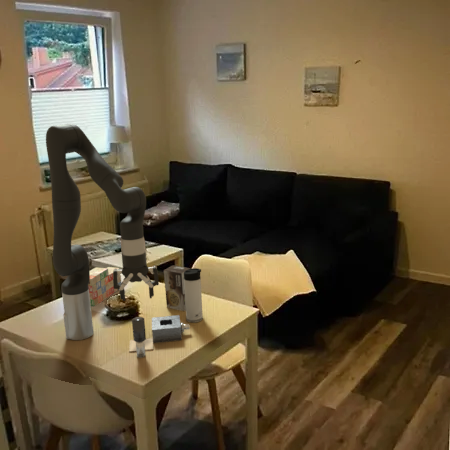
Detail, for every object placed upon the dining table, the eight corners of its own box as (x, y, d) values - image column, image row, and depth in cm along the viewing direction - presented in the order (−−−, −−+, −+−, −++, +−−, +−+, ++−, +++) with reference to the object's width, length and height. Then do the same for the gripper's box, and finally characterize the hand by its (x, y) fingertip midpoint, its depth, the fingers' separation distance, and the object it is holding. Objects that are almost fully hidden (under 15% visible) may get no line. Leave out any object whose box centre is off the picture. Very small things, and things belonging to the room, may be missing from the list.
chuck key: (134, 359, 175) (131, 322, 171) (135, 353, 179) (132, 317, 175) (147, 357, 175) (144, 321, 172) (147, 352, 179) (144, 316, 176)
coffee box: (193, 305, 214) (191, 268, 210) (184, 311, 209) (181, 273, 205) (175, 301, 219) (173, 264, 215) (165, 307, 214) (163, 269, 210)
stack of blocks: (110, 286, 239) (107, 260, 236) (122, 287, 237) (119, 261, 233) (81, 305, 220) (78, 276, 216) (94, 306, 217) (91, 278, 214)
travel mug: (201, 323, 199) (198, 272, 194) (184, 322, 200) (181, 272, 195) (205, 316, 205) (202, 267, 199) (188, 315, 206) (185, 266, 201)
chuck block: (153, 343, 185) (152, 329, 184) (152, 330, 195) (151, 317, 193) (190, 339, 187) (190, 326, 185) (188, 326, 196) (188, 314, 195)
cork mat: (129, 352, 179) (129, 351, 179) (129, 341, 187) (129, 340, 187) (153, 349, 180) (153, 348, 180) (152, 339, 188) (152, 338, 188)
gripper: (109, 256, 163) (114, 305, 168) (156, 252, 165) (160, 301, 169) (111, 249, 170) (115, 296, 175) (156, 245, 172) (159, 292, 177)
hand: (137, 298), depth 172 cm, fingers open, 8 cm apart
